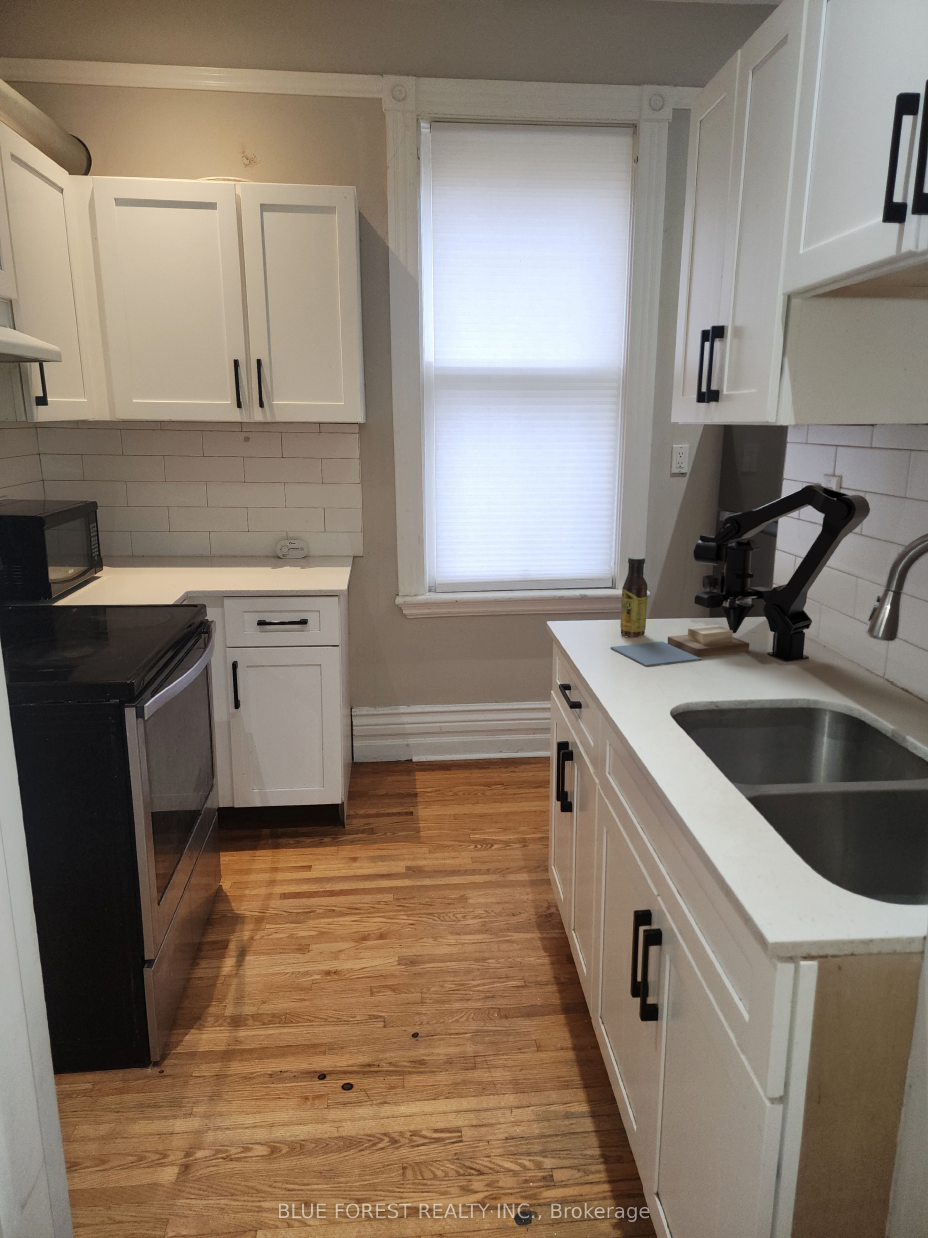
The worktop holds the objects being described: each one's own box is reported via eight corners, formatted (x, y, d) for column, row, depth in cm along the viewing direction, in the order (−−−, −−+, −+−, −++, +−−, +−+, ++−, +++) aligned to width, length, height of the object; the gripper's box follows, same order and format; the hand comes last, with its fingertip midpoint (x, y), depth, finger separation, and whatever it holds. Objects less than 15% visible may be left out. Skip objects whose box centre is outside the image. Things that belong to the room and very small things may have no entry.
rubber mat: (701, 660, 181) (701, 658, 181) (645, 666, 177) (645, 664, 177) (662, 642, 196) (662, 641, 196) (610, 648, 191) (610, 646, 191)
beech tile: (732, 641, 189) (732, 630, 188) (702, 644, 186) (703, 633, 186) (716, 635, 194) (717, 625, 194) (687, 638, 192) (688, 628, 191)
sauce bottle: (616, 633, 206) (618, 555, 201) (639, 631, 207) (642, 554, 202) (626, 639, 200) (628, 559, 195) (649, 637, 201) (653, 558, 196)
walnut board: (748, 651, 187) (749, 643, 187) (696, 657, 183) (697, 649, 182) (717, 639, 198) (717, 631, 198) (667, 644, 194) (667, 636, 193)
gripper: (749, 560, 199) (745, 622, 202) (683, 565, 193) (679, 628, 197) (779, 567, 188) (774, 632, 192) (710, 572, 183) (706, 639, 186)
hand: (733, 632), depth 192 cm, fingers closed
